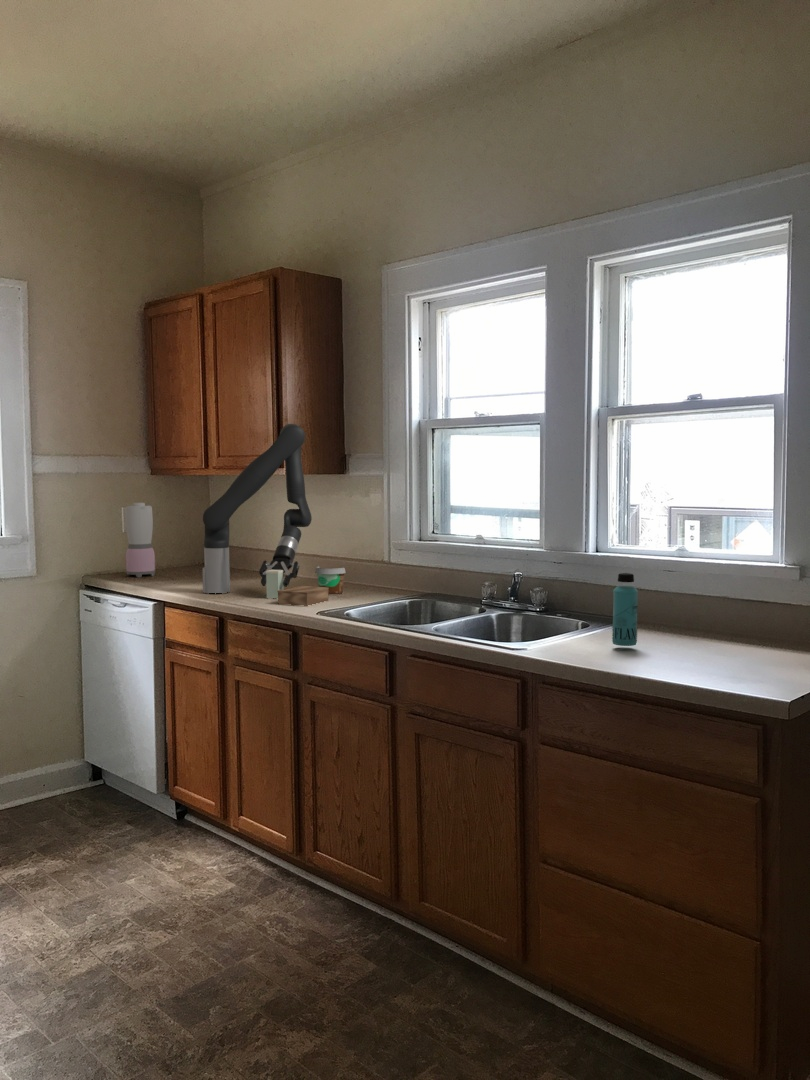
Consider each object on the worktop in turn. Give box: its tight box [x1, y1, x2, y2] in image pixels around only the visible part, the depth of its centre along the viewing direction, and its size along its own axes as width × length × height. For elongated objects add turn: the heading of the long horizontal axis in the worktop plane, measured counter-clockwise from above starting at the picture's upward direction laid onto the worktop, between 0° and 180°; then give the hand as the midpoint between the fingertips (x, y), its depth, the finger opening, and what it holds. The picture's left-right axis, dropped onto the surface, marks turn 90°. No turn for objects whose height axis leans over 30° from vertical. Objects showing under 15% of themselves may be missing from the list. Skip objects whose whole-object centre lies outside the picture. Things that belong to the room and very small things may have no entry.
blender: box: [125, 502, 156, 578], centre depth 389 cm, size 16×12×32 cm
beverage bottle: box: [611, 572, 639, 647], centre depth 231 cm, size 6×7×20 cm
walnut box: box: [277, 585, 329, 607], centre depth 312 cm, size 12×14×5 cm
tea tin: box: [266, 569, 284, 599], centre depth 322 cm, size 5×5×10 cm
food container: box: [315, 566, 347, 595], centre depth 331 cm, size 12×6×10 cm, turn 62°
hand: (273, 585), depth 321 cm, fingers open, 8 cm apart
